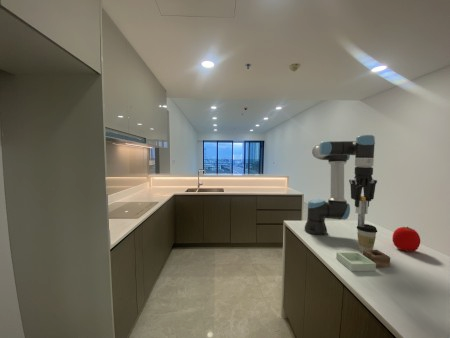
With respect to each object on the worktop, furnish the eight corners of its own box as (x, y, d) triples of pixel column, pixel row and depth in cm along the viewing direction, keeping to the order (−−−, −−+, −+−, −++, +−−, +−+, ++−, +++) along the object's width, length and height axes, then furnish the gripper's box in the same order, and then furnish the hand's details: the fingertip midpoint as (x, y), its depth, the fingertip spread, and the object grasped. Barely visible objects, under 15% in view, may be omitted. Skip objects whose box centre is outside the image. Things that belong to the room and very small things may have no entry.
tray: (336, 258, 107) (336, 252, 107) (357, 258, 108) (357, 251, 107) (351, 271, 95) (352, 264, 95) (375, 270, 96) (375, 263, 95)
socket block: (362, 259, 107) (362, 250, 106) (376, 258, 107) (377, 249, 107) (374, 267, 99) (375, 257, 98) (389, 266, 99) (390, 257, 99)
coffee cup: (379, 256, 110) (381, 229, 109) (360, 254, 112) (361, 228, 111) (370, 248, 119) (371, 224, 118) (352, 246, 121) (353, 222, 120)
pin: (356, 225, 101) (357, 196, 101) (361, 224, 102) (362, 196, 101) (360, 227, 99) (361, 197, 98) (365, 226, 99) (367, 197, 98)
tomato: (395, 251, 116) (396, 227, 115) (389, 243, 126) (390, 222, 125) (424, 256, 110) (425, 231, 109) (415, 248, 121) (416, 225, 120)
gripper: (354, 167, 94) (352, 215, 95) (385, 167, 95) (382, 215, 97) (343, 166, 101) (341, 211, 103) (372, 166, 103) (370, 211, 104)
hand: (361, 213), depth 100 cm, fingers closed on pin, 3 cm apart
